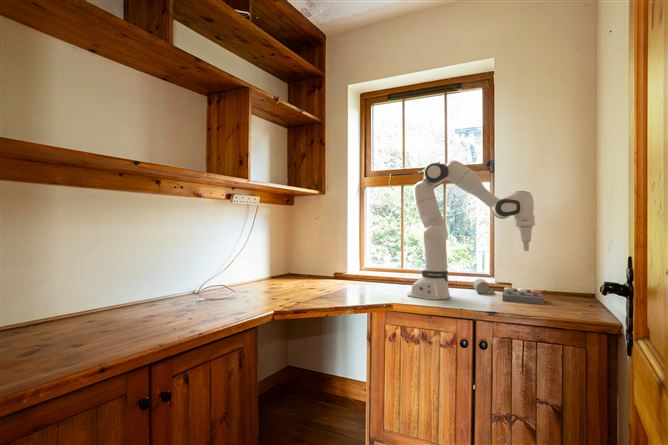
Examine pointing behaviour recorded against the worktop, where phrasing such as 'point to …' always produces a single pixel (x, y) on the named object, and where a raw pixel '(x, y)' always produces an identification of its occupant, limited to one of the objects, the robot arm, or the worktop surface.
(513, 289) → the sage button
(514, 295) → the button panel
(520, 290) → the ivory button
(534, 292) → the terracotta button
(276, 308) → the worktop surface
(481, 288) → the ceramic mug
